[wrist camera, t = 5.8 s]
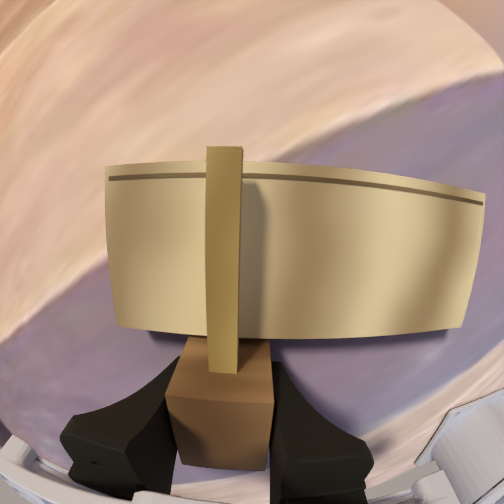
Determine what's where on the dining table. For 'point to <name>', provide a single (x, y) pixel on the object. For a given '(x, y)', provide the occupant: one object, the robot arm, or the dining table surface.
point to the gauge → (222, 346)
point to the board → (295, 250)
